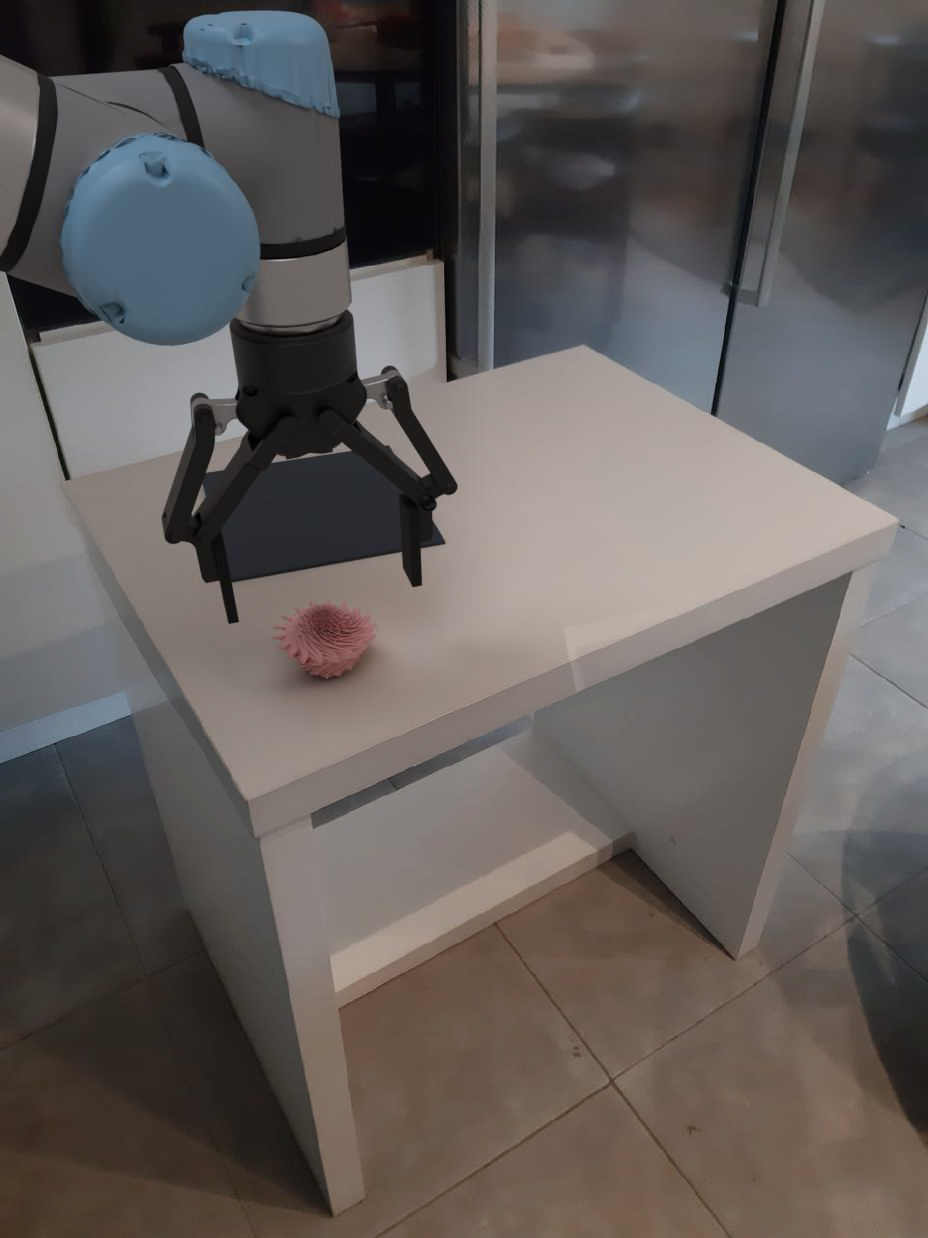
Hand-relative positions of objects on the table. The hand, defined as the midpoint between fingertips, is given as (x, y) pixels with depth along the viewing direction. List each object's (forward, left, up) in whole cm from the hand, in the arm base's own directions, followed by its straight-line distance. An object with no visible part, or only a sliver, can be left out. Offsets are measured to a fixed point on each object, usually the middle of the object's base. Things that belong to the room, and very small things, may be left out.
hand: (324, 594), depth 72 cm
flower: (0, 0, -7) cm, 7 cm away
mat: (+4, +24, -7) cm, 25 cm away
